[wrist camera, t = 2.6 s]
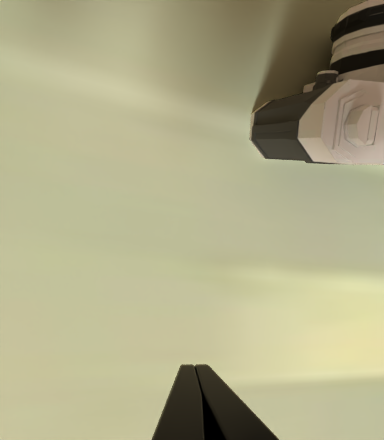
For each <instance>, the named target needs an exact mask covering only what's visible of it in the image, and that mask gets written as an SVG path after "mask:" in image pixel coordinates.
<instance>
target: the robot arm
mask: <svg viewBox="0 0 384 440" xmlns="http://www.w3.org/2000/svg"><path fill="white" fill-rule="evenodd" d="M152 440H279V439H278V438H277V437H276V436H275V435H274V434H273V433H272V432H271V430H270V429H269V428H268V427H267V426H266V425H265V424H264V423H263V422H262V421H261V420H260V419H259V418H258V417H257V416H256V415H255V414H254V413H253V412H252V410H251V409H250V408H249V407H248V406H247V405H246V404H245V403H244V402H243V401H242V400H241V399H240V398H239V397H238V396H237V395H236V394H235V393H234V392H233V391H232V389H231V388H230V387H229V386H228V385H227V384H226V383H225V382H224V381H223V380H222V379H221V378H220V377H219V376H218V375H217V374H216V373H215V372H214V371H213V370H212V368H211V367H210V366H208V365H206V364H197V365H195V366H194V365H181V366H180V368H179V371H178V373H177V376H176V378H175V381H174V384H173V386H172V389H171V391H170V394H169V396H168V399H167V401H166V404H165V407H164V409H163V412H162V414H161V417H160V419H159V422H158V425H157V427H156V430H155V432H154V435H153V437H152Z"/></svg>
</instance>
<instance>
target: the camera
mask: <svg viewBox="0 0 384 440" xmlns="http://www.w3.org/2000/svg"><path fill="white" fill-rule="evenodd" d="M330 38H331V40H332V42H333V45H332V53H331V54H333V56H332V58H331V62H330V69H329V70H326V71H320V72H318V73H317V76H316V81H315V82H314V83H311V84H308V85H304V89H303V93H302V94H298V95H294V96H290V97H287V98H283V99H279V100H272V101H268V102H266V103H265V104H263V105H262V106H261V107H259V108H258V109H257V110H255V111H254V112H253V113H252V114H251V125H250V138H249V140H250V141H251V143H252V144H253V145H254V147H255V148H256V149H257V151H258V152H259V153H260V155H261V156H262V157H264V158H265V159H282V160H300V161H305V162H306V163H319V164H364V165H384V0H367V1H365V2H363V3H360V4H358V5H356V6H353V7H351V8H350V9H348V10H347V11H346V12H345V13H343V14H342V15H341V16H340V17H339V19H338V21H337V23H336V25H335V26H334V27H333V29H332V31H331V37H330Z"/></svg>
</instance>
